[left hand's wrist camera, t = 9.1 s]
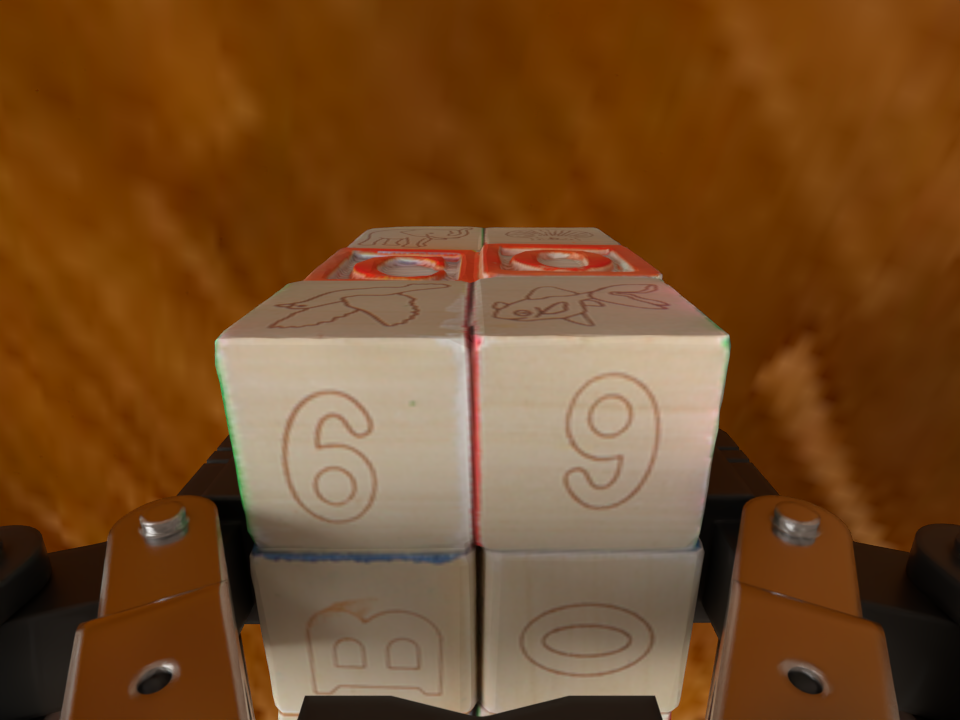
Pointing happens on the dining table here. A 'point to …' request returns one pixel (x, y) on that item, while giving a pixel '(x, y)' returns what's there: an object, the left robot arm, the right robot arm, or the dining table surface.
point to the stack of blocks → (475, 469)
